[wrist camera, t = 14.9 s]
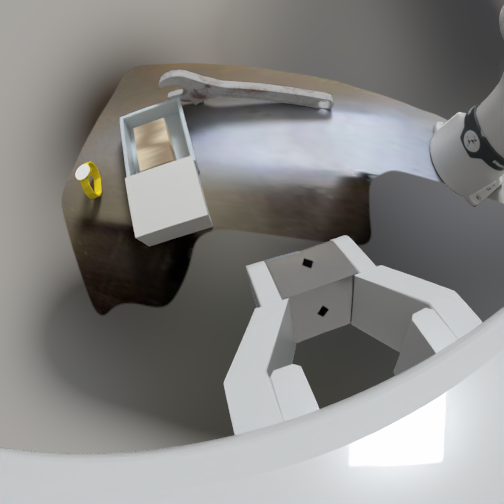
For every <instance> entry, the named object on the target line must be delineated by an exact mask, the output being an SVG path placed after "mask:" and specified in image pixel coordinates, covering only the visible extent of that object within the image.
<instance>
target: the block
mask: <svg viewBox="0 0 504 504" xmlns="http://www.w3.org/2000/svg"><path fill="white" fill-rule="evenodd" d="M133 129H134V136H135V143H136V150H137V157H138V163H139V169H140V172H143V171H146V170H149V169H152V168H154V167H157V166H160V165H163V164H166V163H169V162H172V161H176V155H175V151H174V147H173V142H172V138H171V134H170V131H169V129H168V126H167V124H166V121H165V119H164V118H161V119H158V120H155V121H152V122H149V123H147V124H144V125H141V126H138V127H135V128H133Z"/></svg>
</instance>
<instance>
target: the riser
mask: <svg viewBox="0 0 504 504" xmlns="http://www.w3.org/2000/svg"><path fill="white" fill-rule="evenodd" d="M125 183H126V189H127V195H128V201H129V207H130V213H131V218H132V223H133V228H134V233H135V238H136V239H138V240H140V241H141V242H143V243H144V244H146V245H148V246H149V247H150V246H153V245H156V244H159V243H162V242H165V241H168V240H172V239H175V238H178V237H181V236H184V235H187V234H191V233H194V232H197V231H200V230H204V229H207V228H210V227H213V225H212V222H211V218H210V215H209V211H208V208H207V204H206V200H205V197H204V193H203V190H202V186H201V182H200V179H199V175H198V172H197V169H196V166H195V163H194V160H193V157H192V156H188V157H185V158H182V159H179V160H176V161H172V162H169V163H166V164H163V165H160V166H157V167H154V168H152V169H149V170H146V171H143V172H140V173H137V174H135V175H132V176H129V177H127V178H125Z"/></svg>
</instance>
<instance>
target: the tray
mask: <svg viewBox="0 0 504 504" xmlns="http://www.w3.org/2000/svg"><path fill="white" fill-rule="evenodd" d="M161 118H164V119H165V121H166V124H167V126H168V129H169V131H170V134H171V138H172V142H173V147H174V151H175V155H176V160H179V159H182V158H185V157H188V156H192V157H193V160H194V163H195V166H196V169H197V172H200V171H199V168H198V164H197V160H196V157H195V153H194V149H193V145H192V142H191V138H190V134H189V130H188V126H187V122H186V119H185V115H184V111H183V107H182V104H181V101H180V97H178V98H174V99H171V100H168V101H165V102H162V103H159V104H156V105H153V106H150V107H147V108H144V109H141V110H139V111H136V112H133V113H130V114H128V115H125V116H123V117H120V127H121V137H122V146H123V154H124V161H125V169H126V175H127V177H129V176H132V175H135V174H137V173H140V169H139V163H138V157H137V150H136V143H135V136H134V129H133V128H135V127H138V126H141V125H144V124H147V123H149V122H152V121H155V120H158V119H161Z"/></svg>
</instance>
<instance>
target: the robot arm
mask: <svg viewBox="0 0 504 504" xmlns="http://www.w3.org/2000/svg"><path fill="white" fill-rule="evenodd" d="M499 22H500V30H501V32H502V35H503V38H504V6H503V7H502V9H501V12H500V18H499ZM430 153H431V158H432V161H433V164H434V166H435V168H436V170H437V172H438V174H439V176H440V177H441V179H442V180H443V181H444V182H445V184H446V185H447V186H448V187H449V188H450V189H451V190H453V191H454V192H455V193H457V194H459V195H461V196H463V197H464V198H465V199H466V200H467V201H468V202H469V203H470V204H471V205H472V206H474V207H475V206H477V205H478V204H480V203H481V202H482V201H483V200H484V199H485V198H487V197H488V196H489V195H490V194H491V193H492V192H493V191H494V190H496V189H497V188H498V187H499V186H500V185H501V184H502V183H503V176H502V175H503V174H504V73H503V76H502V78H501V81H500V83H499V84H498V85H497V87H496V88H495V89H494V90H493V91H492V93H491V94H490V95H489V96H488V97H487V98H486V99H485V100H484V101H483V102H482V103H479V104H477V105H476V106H474V107H472V108H471V109H470V110H469V112H468V113H467V114H466V113H461V112H459V113H457V114H456V115H454V116H453V117H452V118H451V119H450V120H448V121H447V122H446V123H444V122H437V123H435V125H434V136H433V138H432V140H431V144H430ZM246 270H247V273H248V277H249V281H250V285H251V288H252V292H253V296H254V299H255V303H256V306H257V308H256V309H255V310H254V313H253V315H252V317H251V320H250V322H249V325H248V327H247V329H246V332H245V334H244V336H243V339H242V341H241V344H240V346H239V348H238V351H237V353H236V355H235V358H234V360H233V362H232V365H231V367H230V369H229V371H228V374H227V376H226V378H225V381H224V388H225V393H226V397H227V402H228V407H229V411H230V416H231V420H232V424H233V429H234V433H235V435H234V436H229V437H225V438H220V439H216V440H211V441H206V442H201V443H195V444H189V445H183V446H178V447H170V448H163V449H155V450H146V451H135V452H122V453H102V454H101V453H97V454H71V453H48V452H35V451H25V450H17V449H10V448H3V447H0V504H504V307H502V308H501V309H500V310H499V311H497V312H496V313H495V314H493V315H492V316H491V317H489V318H488V319H487V320H485V321H484V322H482V321H481V320H480V318H479V317H478V316H477V315H476V314H475V313H474V312H473V311H472V309H471V308H470V307H469V306H468V305H467V304H466V303H465V302H464V300H462V298H461V297H460V296H459V295H458V294H457V293H456V292H455V291H453V290H451V289H448V288H445V287H442V286H440V285H437V284H434V283H431V282H428V281H425V280H423V279H420V278H417V277H414V276H411V275H408V274H405V273H402V272H399V271H397V270H394V269H391V268H388V267H385V266H382V265H381V266H378V267H376V265H375V264H374V263H373V262H372V261H371V260H370V259H369V258H368V257H367V256H366V255H365V253H364V252H363V251H362V250H361V249H360V248H359V247H358V246H357V245H356V244H355V243H354V242H353V240H352V239H351V238H350V237H349V236H346V235H344V236H341V237H338V238H336V239H333V240H330V241H328V242H325V243H322V244H319V245H316V246H313V247H310V248H306V249H303V250H300V251H296V252H293V253H289V254H286V255H282V256H279V257H275V258H272V259H268V260H265V261H262V262H258V263H255V264H251V265H248V266H246ZM349 323H351V324H352V325H354V326H355V327H357V328H359V329H360V330H362V331H364V332H365V333H367V334H369V335H371V336H372V337H374V338H376V339H378V340H379V341H381V342H383V343H385V344H386V345H388V346H390V347H391V348H393V349H395V350H397V351H398V352H400V355H399V358H398V361H397V364H396V367H395V369H394V374H395V376H394V377H392V378H390V379H388V380H386V381H384V382H382V383H380V384H378V385H376V386H374V387H372V388H369V389H367V390H365V391H363V392H361V393H358V394H356V395H354V396H351V397H349V398H347V399H344V400H342V401H340V402H337V403H334V404H332V405H329V406H327V407H324V408H322V409H319V407H318V405H317V402H316V400H315V398H314V396H313V393H312V391H311V389H310V386H309V384H308V382H307V379H306V377H305V375H304V373H303V370H302V368H301V366H297V365H294V364H292V361H293V357H294V352H295V348H296V343H298V342H301V341H303V340H306V339H309V338H311V337H314V336H316V335H319V334H321V333H324V332H327V331H330V330H332V329H335V328H338V327H341V326H344V325H346V324H349Z"/></svg>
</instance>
